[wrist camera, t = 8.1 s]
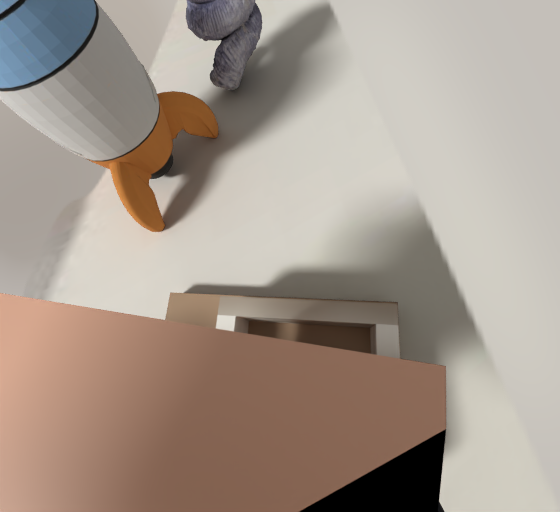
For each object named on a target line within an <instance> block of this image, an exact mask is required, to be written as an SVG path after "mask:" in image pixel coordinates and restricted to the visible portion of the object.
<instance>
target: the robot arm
mask: <svg viewBox="0 0 560 512" xmlns="http://www.w3.org/2000/svg"><path fill="white" fill-rule="evenodd" d="M438 512H444V510H443V508H442V506H441V504H440V502H439V504H438Z"/></svg>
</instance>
